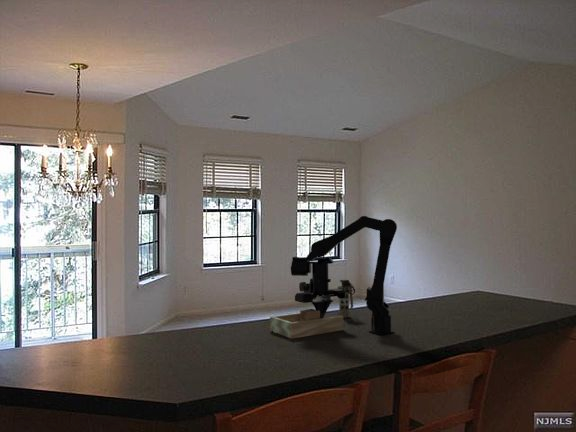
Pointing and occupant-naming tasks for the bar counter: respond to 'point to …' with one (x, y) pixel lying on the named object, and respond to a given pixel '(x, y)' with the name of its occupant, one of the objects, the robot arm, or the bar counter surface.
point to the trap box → (304, 325)
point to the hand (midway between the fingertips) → (320, 319)
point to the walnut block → (309, 314)
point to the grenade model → (345, 299)
